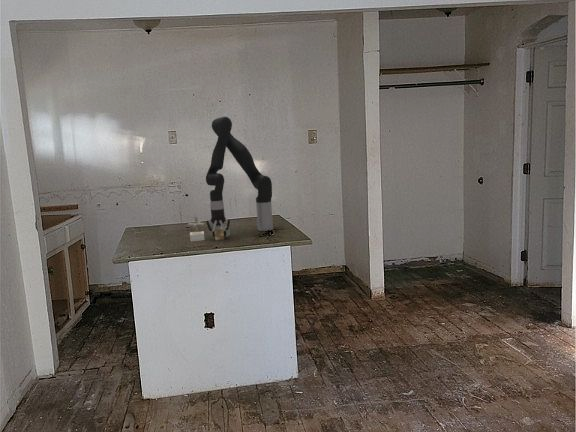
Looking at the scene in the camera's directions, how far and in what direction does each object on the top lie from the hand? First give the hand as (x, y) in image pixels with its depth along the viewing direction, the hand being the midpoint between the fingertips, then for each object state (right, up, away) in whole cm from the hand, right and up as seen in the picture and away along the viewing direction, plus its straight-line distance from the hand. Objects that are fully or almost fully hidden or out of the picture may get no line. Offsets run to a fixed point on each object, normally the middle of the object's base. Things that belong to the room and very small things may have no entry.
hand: (219, 237), depth 297 cm
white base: (-13, -2, +2) cm, 13 cm away
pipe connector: (-17, +2, +22) cm, 27 cm away
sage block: (+2, 0, +8) cm, 9 cm away
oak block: (0, -1, 0) cm, 1 cm away
